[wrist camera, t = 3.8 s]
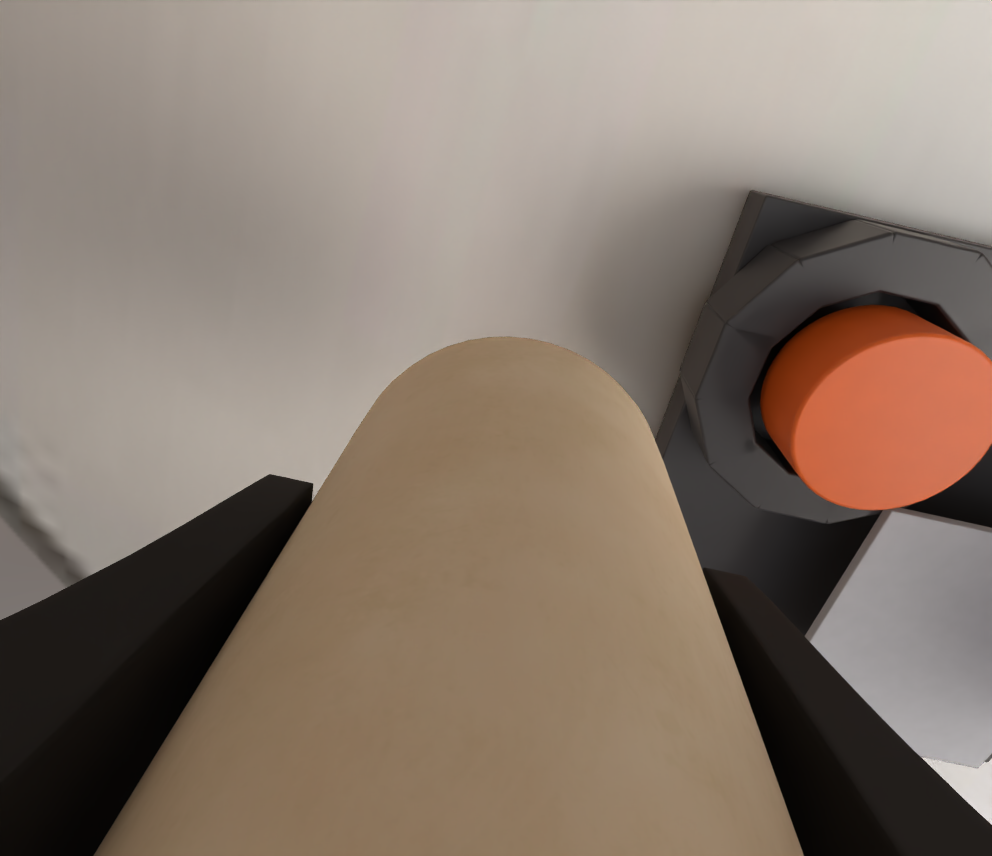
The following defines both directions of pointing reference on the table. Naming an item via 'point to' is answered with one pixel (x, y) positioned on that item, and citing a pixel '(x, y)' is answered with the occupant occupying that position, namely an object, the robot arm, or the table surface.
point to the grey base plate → (744, 364)
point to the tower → (918, 632)
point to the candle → (475, 648)
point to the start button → (878, 407)
